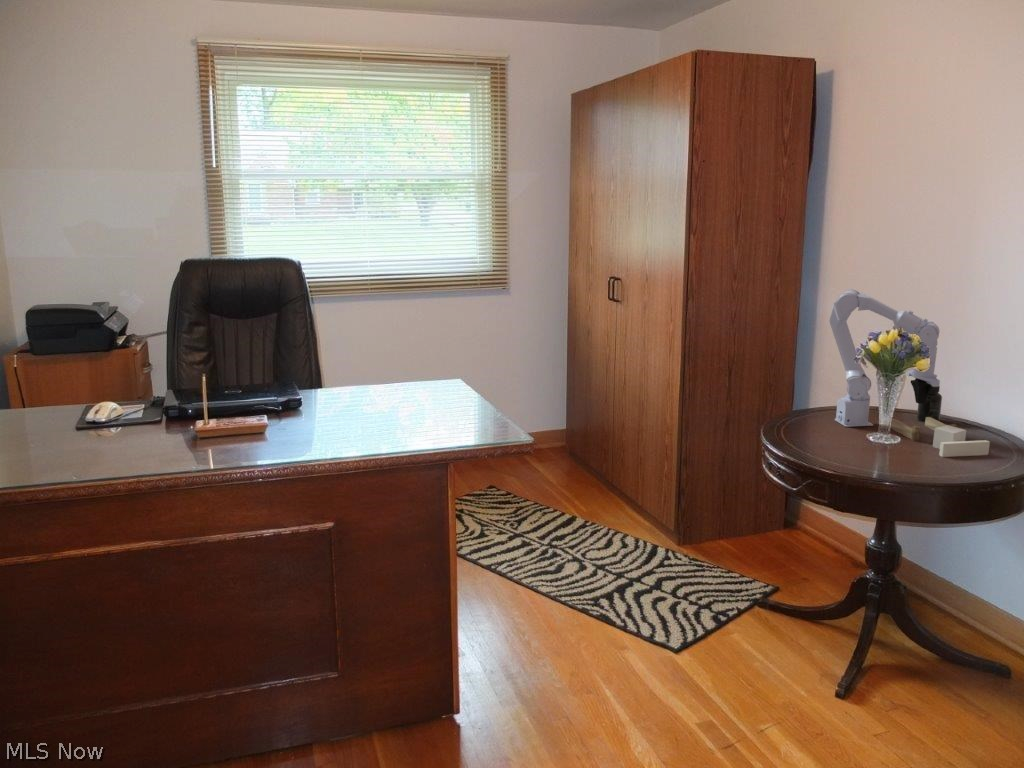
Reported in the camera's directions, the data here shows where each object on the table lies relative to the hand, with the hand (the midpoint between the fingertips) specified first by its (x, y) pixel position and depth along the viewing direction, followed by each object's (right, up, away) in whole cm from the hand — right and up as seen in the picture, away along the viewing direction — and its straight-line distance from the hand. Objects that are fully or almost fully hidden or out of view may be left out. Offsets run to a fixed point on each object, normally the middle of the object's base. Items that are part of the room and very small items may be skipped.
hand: (920, 402), depth 251 cm
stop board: (+2, -15, -20) cm, 25 cm away
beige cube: (+1, -13, -14) cm, 19 cm away
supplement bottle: (+9, -6, +13) cm, 17 cm away
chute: (0, -10, 0) cm, 10 cm away
